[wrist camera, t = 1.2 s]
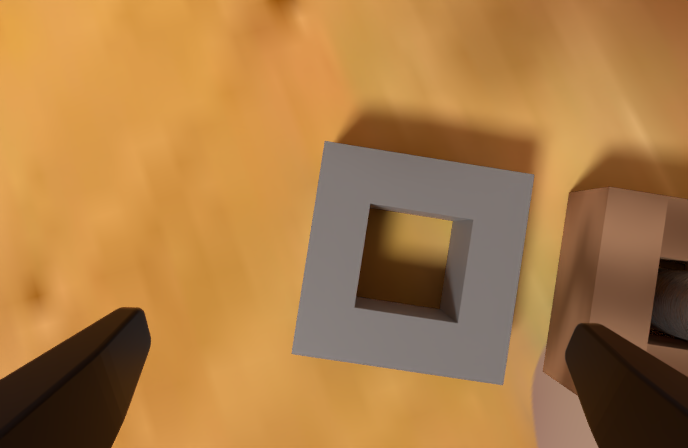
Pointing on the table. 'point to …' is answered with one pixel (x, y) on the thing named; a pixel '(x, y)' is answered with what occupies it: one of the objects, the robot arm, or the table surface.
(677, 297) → the steel pin
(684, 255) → the socket block
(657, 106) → the table surface
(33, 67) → the table surface
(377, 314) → the rack block
